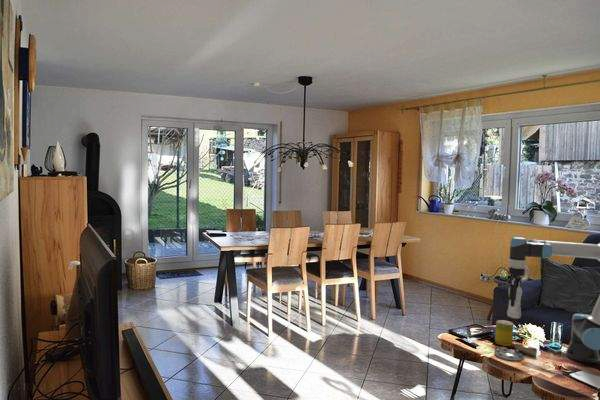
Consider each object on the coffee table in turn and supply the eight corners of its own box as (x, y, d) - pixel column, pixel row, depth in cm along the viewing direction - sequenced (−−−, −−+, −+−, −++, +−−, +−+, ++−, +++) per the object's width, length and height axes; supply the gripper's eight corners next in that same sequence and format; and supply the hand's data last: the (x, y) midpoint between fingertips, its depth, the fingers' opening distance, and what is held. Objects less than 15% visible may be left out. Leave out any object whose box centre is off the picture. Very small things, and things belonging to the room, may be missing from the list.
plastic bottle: (520, 320, 241) (522, 282, 240) (505, 318, 245) (508, 280, 243) (521, 317, 247) (523, 280, 246) (507, 315, 250) (509, 278, 249)
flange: (526, 355, 250) (526, 352, 250) (518, 363, 239) (519, 359, 239) (499, 348, 259) (499, 345, 259) (490, 355, 248) (491, 352, 248)
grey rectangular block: (536, 355, 251) (537, 347, 250) (534, 357, 247) (534, 349, 247) (516, 350, 257) (517, 342, 257) (514, 352, 254) (514, 344, 253)
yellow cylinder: (512, 347, 262) (513, 326, 261) (495, 344, 266) (496, 323, 265) (511, 341, 271) (512, 321, 270) (494, 339, 274) (496, 319, 273)
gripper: (514, 263, 254) (511, 305, 255) (504, 268, 239) (501, 313, 240) (529, 265, 249) (526, 308, 251) (520, 271, 234) (517, 316, 236)
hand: (514, 310), depth 246 cm, fingers closed on plastic bottle, 6 cm apart
